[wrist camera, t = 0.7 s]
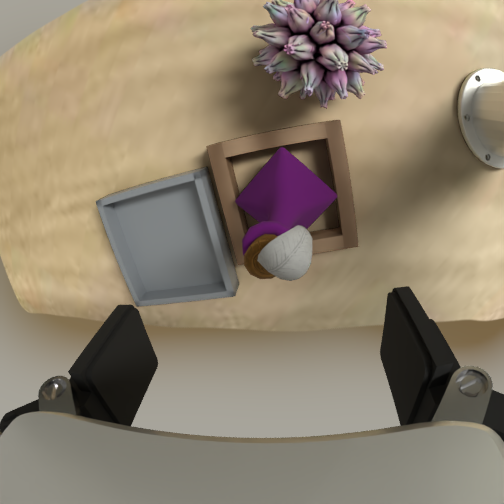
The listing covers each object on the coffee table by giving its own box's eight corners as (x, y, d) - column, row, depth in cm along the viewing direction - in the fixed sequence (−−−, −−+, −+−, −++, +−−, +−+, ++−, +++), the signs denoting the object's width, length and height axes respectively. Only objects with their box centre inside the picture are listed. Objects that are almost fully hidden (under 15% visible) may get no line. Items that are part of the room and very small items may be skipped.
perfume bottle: (289, 235, 35) (284, 339, 19) (239, 194, 34) (189, 269, 18) (334, 188, 32) (374, 262, 16) (282, 143, 31) (272, 170, 15)
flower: (384, 93, 27) (430, 84, 16) (280, 123, 30) (274, 125, 19) (345, 1, 23) (367, -47, 12) (241, 30, 26) (214, -10, 15)
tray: (207, 166, 33) (199, 171, 30) (239, 283, 39) (235, 296, 36) (108, 194, 36) (95, 201, 33) (145, 294, 42) (136, 306, 39)
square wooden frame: (336, 119, 29) (340, 120, 27) (354, 238, 34) (358, 246, 32) (212, 144, 32) (206, 146, 30) (241, 255, 37) (237, 265, 35)
